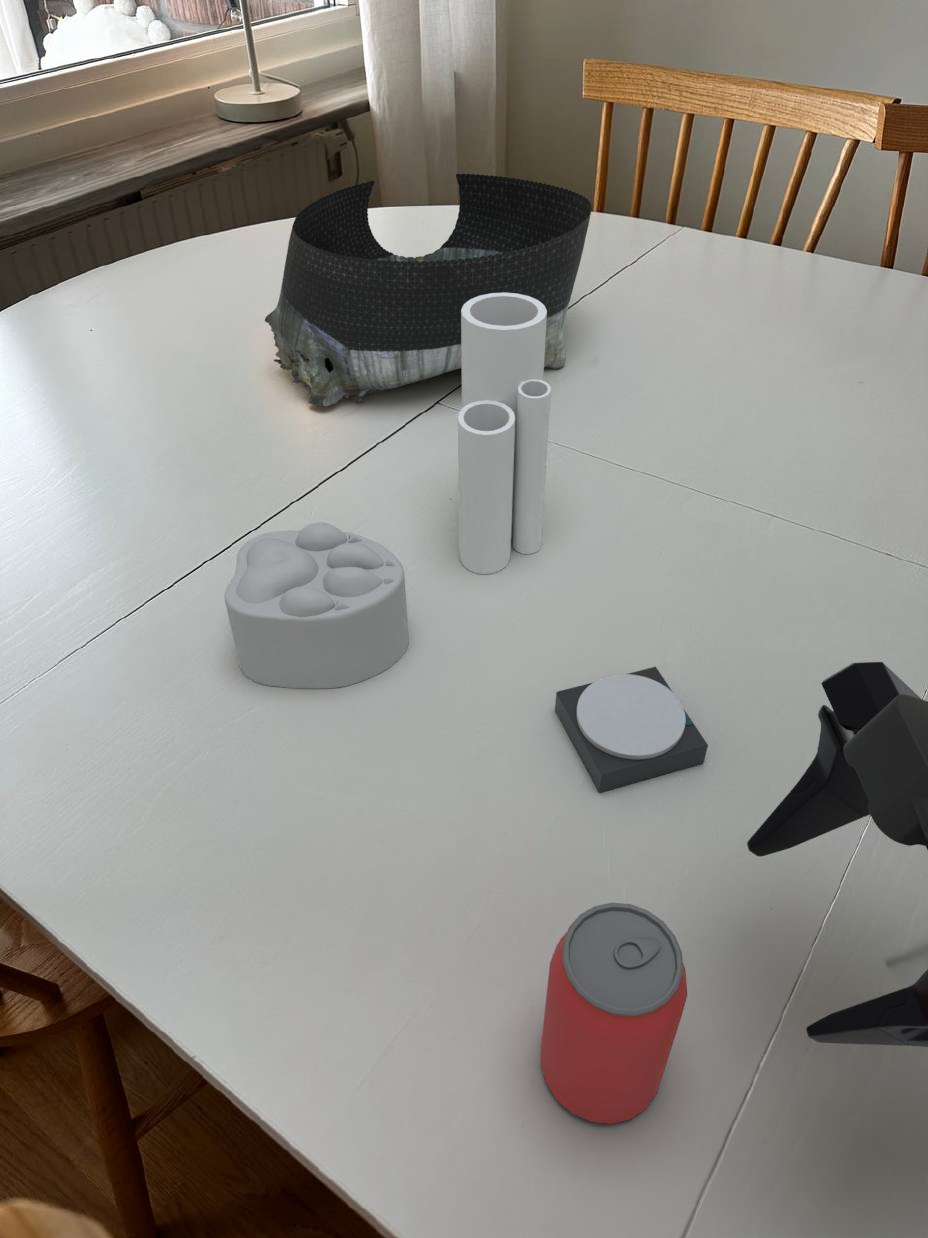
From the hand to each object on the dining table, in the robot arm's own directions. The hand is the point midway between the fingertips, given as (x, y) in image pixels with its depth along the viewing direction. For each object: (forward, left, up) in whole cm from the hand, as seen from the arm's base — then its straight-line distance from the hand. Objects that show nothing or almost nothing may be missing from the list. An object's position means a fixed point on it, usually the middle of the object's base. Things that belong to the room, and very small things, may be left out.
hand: (779, 936), depth 45 cm
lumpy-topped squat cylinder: (+33, -25, -13) cm, 44 cm away
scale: (+9, -21, -13) cm, 26 cm away
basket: (+39, -73, -13) cm, 84 cm away
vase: (+23, -42, -13) cm, 50 cm away
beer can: (+7, +2, -13) cm, 15 cm away
